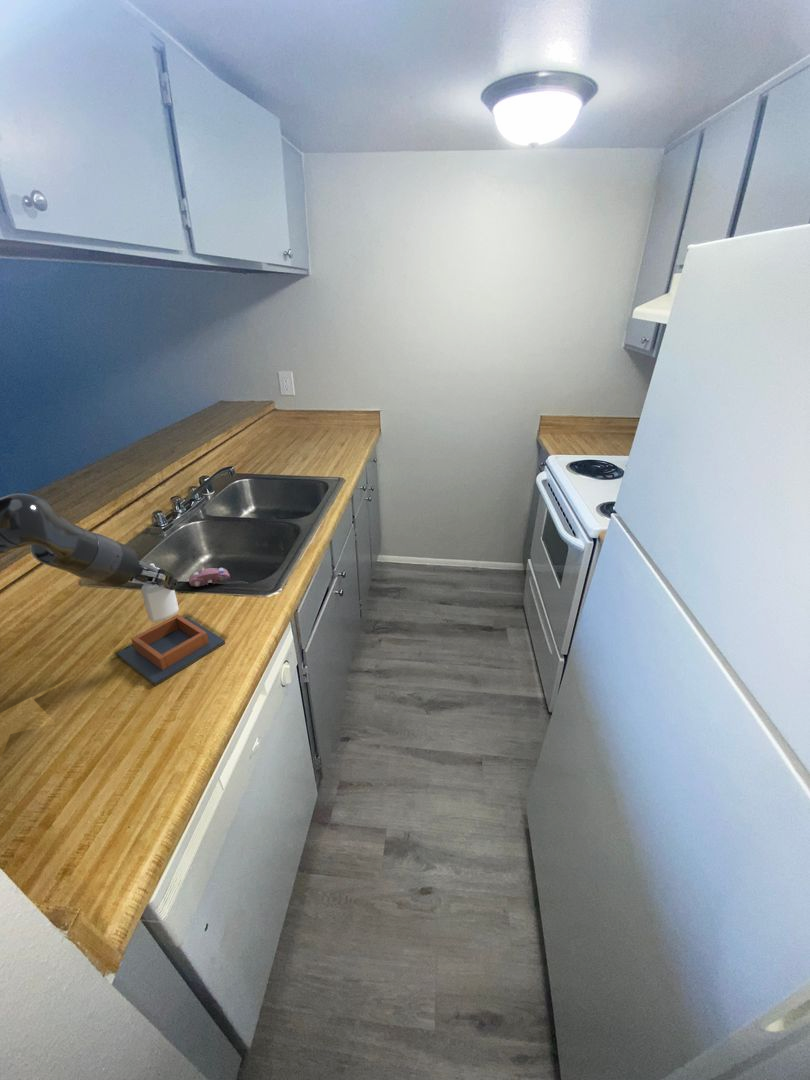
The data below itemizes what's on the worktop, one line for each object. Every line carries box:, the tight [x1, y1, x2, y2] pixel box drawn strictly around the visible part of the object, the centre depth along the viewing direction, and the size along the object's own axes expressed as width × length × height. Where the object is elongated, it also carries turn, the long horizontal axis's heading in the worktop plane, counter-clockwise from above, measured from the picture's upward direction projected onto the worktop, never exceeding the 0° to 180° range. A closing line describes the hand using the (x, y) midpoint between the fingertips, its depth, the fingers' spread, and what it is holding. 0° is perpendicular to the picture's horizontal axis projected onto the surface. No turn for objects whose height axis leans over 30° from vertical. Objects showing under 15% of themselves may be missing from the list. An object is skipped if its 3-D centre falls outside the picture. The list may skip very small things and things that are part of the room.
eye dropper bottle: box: [140, 563, 180, 623], centre depth 93 cm, size 4×6×12 cm
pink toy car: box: [188, 567, 231, 588], centre depth 121 cm, size 10×5×7 cm, turn 114°
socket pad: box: [116, 614, 226, 687], centre depth 100 cm, size 16×14×4 cm
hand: (164, 583), depth 95 cm, fingers closed on eye dropper bottle, 4 cm apart
